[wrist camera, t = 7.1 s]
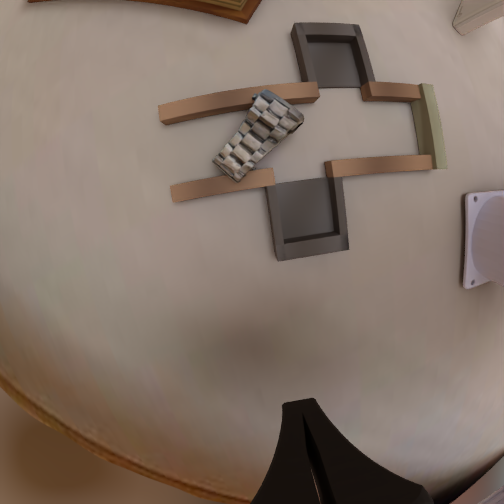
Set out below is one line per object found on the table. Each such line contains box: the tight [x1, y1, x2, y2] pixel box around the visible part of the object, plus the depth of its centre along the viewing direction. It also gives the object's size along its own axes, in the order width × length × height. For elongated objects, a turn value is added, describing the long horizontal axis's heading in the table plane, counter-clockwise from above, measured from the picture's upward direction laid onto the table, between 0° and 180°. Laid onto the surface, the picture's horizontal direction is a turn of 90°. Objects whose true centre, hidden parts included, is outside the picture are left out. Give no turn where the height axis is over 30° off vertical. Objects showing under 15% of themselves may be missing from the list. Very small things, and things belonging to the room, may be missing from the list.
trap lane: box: [158, 23, 447, 261], centre depth 16 cm, size 18×15×2 cm
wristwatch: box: [212, 89, 304, 183], centre depth 15 cm, size 3×5×5 cm, turn 134°
